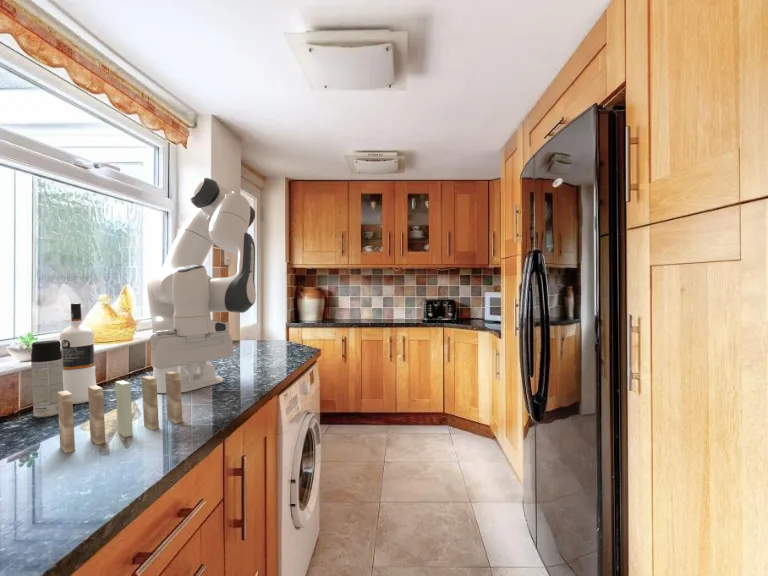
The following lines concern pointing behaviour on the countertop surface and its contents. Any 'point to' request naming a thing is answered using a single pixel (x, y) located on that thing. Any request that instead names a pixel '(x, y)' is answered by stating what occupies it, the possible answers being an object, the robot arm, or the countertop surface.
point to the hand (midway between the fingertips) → (195, 380)
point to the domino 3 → (124, 408)
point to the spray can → (46, 377)
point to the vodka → (77, 357)
